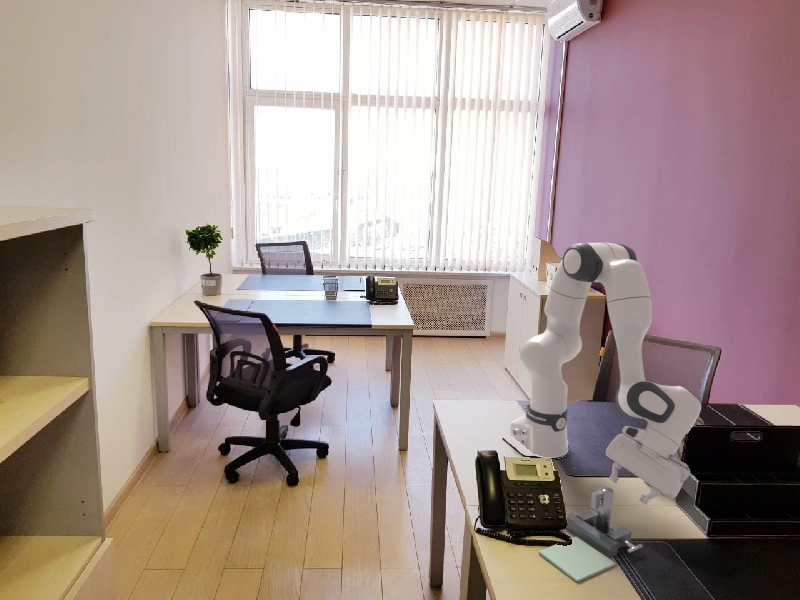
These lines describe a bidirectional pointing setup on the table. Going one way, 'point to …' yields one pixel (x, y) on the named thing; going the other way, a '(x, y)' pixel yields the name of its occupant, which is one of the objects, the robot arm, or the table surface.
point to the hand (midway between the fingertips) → (627, 491)
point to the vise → (599, 534)
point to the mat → (577, 559)
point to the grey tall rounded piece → (603, 509)
